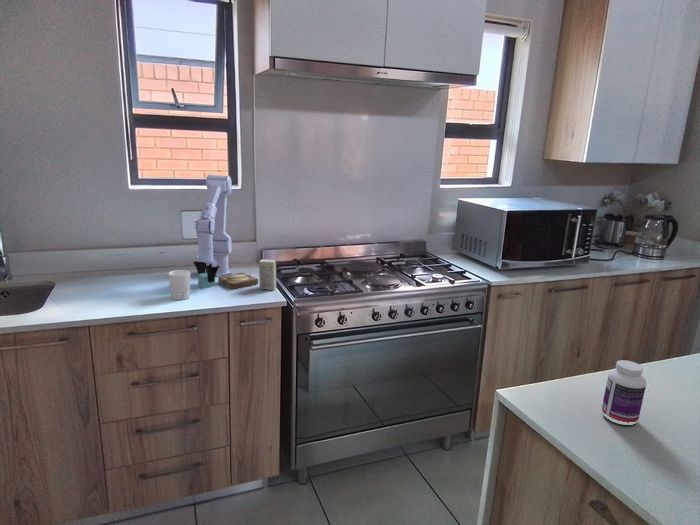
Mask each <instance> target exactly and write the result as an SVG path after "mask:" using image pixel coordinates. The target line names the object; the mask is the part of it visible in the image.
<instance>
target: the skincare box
mask: <svg viewBox="0 0 700 525" xmlns="http://www.w3.org/2000/svg"><path fill="white" fill-rule="evenodd" d="M258 272H259V273H258V275H259V279H258V281H259V290H260V289H268V290H267V291H275V290H276V288H277V260H276V259H262V258H261V259H260V260H258ZM274 289H275V290H274Z"/></svg>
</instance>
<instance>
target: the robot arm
mask: <svg viewBox="0 0 700 525" xmlns="http://www.w3.org/2000/svg"><path fill="white" fill-rule="evenodd" d="M232 184H233V182H232V178H231V176H230V175H215V174H214V175H213V174H208V175H207V176H206V177H205V185H206V188H207V191H208V192H207V193H208V194H207V200H206V203H204V204H203V205H202V209H201V211H200V216H199V219H197V220H196V221H195V232H196V237H197V241H198V242H197V246H198V247H197V249H198V254H195V255H194V258H195V260H194V261H193V265H194V266H195V268H196V271H197V275H198V274H202V273H207V276H208V282H209V283H210V282H214V279H215V280H216V277H221V276H227V275H232V274H233V272H232V271H230V270H229V255H230V254H231V253H232V251H233V250H232V249H233V242H232V237H231V236H230V234H228V233H227V232H226V228H227V227H226V226H227V206H228V205H227V202H228V196H231V194H232Z"/></svg>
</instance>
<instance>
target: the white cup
mask: <svg viewBox="0 0 700 525" xmlns="http://www.w3.org/2000/svg"><path fill="white" fill-rule="evenodd" d="M168 281H169V284H168V285H169V288H170V289H169V291H170V295H171V296H170V297H171V299H172V300H175V301H184V300H187V299H189V298H190V296H191V294H190V292H191V271H190V270H187V269H175V270H171V271H169V272H168Z"/></svg>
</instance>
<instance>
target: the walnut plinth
mask: <svg viewBox="0 0 700 525" xmlns="http://www.w3.org/2000/svg"><path fill="white" fill-rule="evenodd" d="M217 278H218V280H217V282H218V284H221V285H223V286H225V287H227V288H229V289H231V290H233V291H235V290H240V289H243V287H244V288H248V287H247V286H249V287H252V285H254V286H257V285H256V284H258V285H259V279H258V278H256V277H254V276H252V275H250V274H247V273H244V272H238V273H231V274H226V275H221V276H217ZM239 288H240V289H239ZM234 289H235V290H234Z"/></svg>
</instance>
